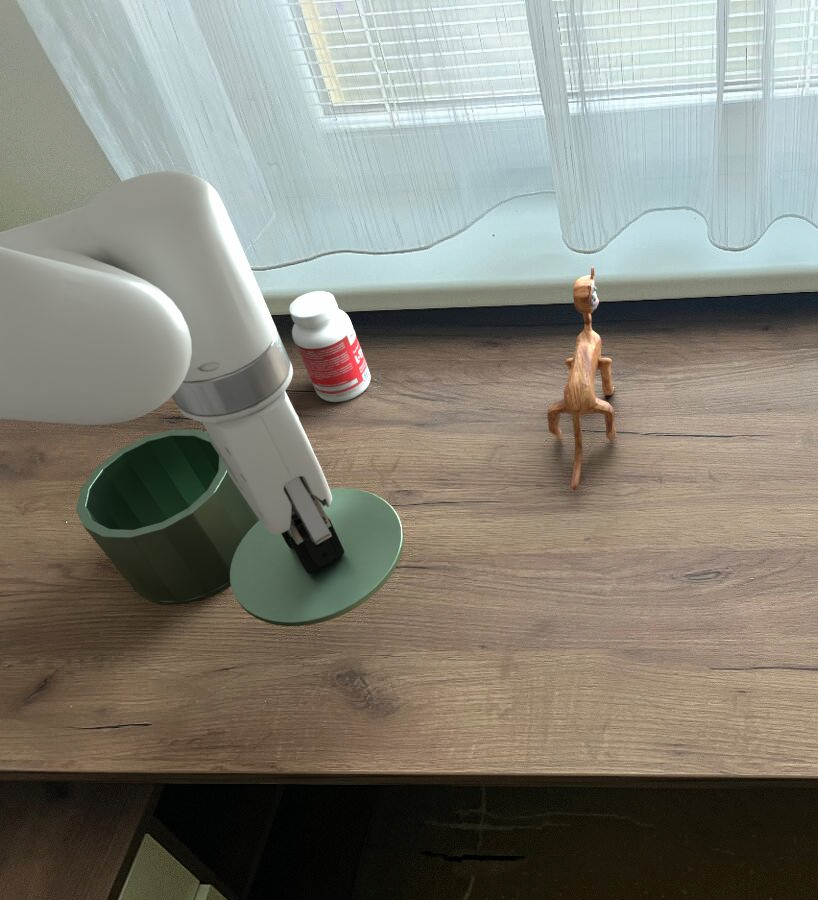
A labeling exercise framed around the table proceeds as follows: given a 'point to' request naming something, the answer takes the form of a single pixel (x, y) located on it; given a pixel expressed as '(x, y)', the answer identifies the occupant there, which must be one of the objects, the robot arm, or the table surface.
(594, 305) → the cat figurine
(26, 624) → the table surface
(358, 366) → the pill bottle
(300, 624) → the tin lid
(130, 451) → the tin
